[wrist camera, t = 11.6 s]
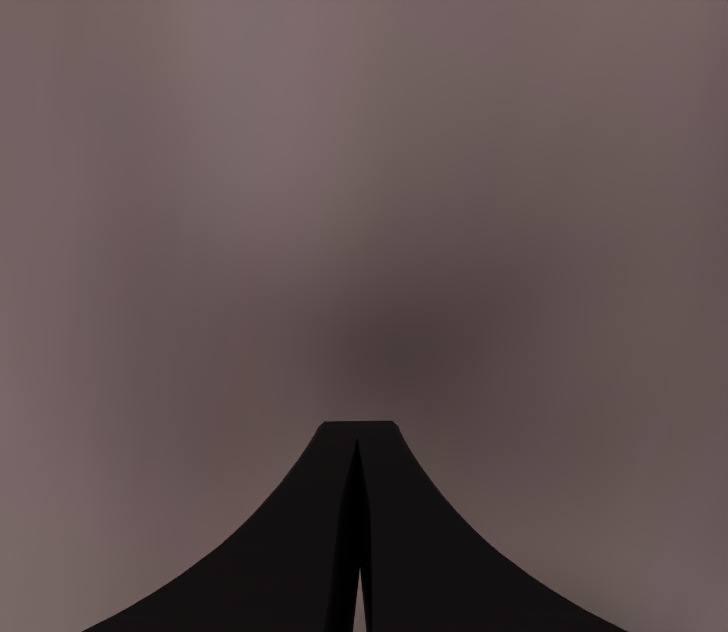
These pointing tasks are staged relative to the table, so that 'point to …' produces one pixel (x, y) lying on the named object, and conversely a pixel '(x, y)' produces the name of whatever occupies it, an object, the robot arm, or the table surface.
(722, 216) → the table surface
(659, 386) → the table surface
